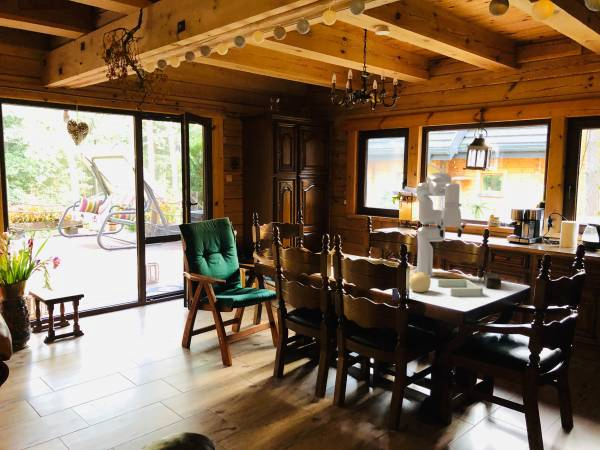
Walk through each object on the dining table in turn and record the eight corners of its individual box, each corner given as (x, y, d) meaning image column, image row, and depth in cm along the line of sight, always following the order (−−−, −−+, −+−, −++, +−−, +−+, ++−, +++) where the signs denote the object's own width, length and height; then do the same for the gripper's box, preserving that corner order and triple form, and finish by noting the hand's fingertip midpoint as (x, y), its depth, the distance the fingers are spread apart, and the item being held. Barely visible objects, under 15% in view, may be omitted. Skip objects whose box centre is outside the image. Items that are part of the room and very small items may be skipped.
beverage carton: (496, 282, 296) (497, 271, 295) (501, 290, 277) (501, 278, 277) (483, 281, 298) (483, 271, 297) (486, 289, 280) (486, 277, 279)
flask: (408, 298, 257) (408, 278, 256) (410, 299, 254) (410, 279, 253) (391, 298, 256) (391, 278, 255) (392, 300, 254) (393, 280, 252)
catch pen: (437, 286, 285) (438, 279, 284) (466, 286, 285) (466, 279, 285) (451, 296, 262) (451, 288, 262) (482, 295, 263) (482, 288, 263)
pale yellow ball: (431, 289, 276) (432, 271, 275) (428, 294, 265) (429, 275, 264) (411, 287, 281) (411, 269, 279) (407, 292, 270) (408, 273, 268)
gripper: (464, 205, 268) (463, 236, 270) (433, 205, 268) (432, 236, 269) (469, 206, 261) (468, 238, 263) (438, 206, 260) (437, 238, 262)
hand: (450, 237), depth 266 cm, fingers open, 9 cm apart
